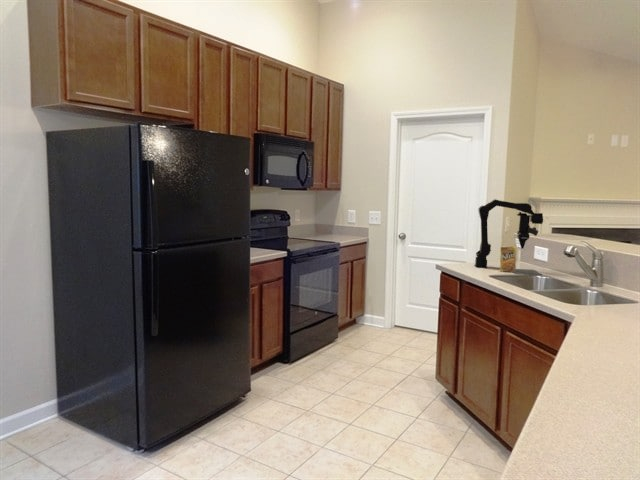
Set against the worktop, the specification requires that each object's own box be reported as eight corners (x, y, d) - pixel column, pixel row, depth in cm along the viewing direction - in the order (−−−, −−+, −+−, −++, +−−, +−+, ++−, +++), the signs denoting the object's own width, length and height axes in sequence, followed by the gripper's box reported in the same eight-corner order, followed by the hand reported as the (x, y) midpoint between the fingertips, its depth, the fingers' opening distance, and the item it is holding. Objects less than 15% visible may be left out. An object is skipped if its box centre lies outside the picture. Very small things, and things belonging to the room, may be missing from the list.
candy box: (500, 271, 292) (500, 247, 290) (500, 270, 296) (500, 246, 294) (515, 271, 289) (516, 247, 287) (515, 270, 293) (515, 246, 291)
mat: (515, 274, 284) (515, 273, 284) (508, 269, 299) (508, 268, 299) (542, 275, 283) (542, 274, 283) (534, 270, 297) (534, 269, 297)
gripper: (539, 225, 285) (537, 250, 287) (537, 222, 302) (534, 246, 305) (519, 224, 289) (517, 249, 291) (518, 221, 306) (516, 245, 308)
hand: (521, 247), depth 299 cm, fingers open, 9 cm apart
